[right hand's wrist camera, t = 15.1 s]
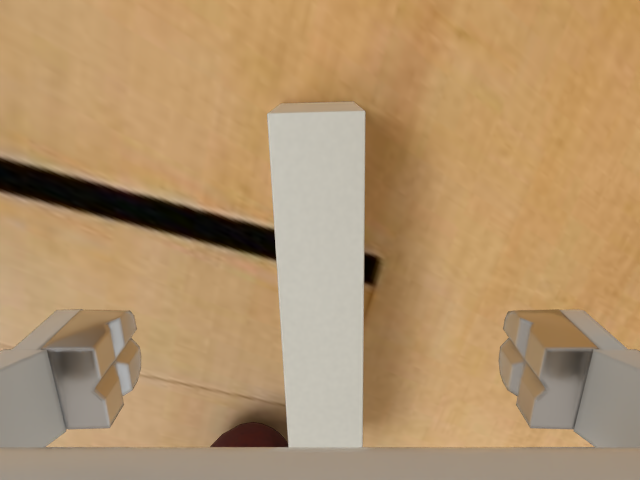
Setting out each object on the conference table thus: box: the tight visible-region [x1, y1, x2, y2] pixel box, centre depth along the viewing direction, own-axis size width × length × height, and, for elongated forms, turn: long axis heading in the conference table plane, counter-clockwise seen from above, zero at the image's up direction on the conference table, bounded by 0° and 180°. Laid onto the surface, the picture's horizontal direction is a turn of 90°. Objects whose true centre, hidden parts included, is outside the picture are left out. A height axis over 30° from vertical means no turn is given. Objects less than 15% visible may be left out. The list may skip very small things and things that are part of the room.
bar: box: [267, 101, 365, 447], centre depth 31 cm, size 28×5×8 cm, turn 1°
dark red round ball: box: [211, 422, 289, 447], centre depth 37 cm, size 7×8×7 cm
